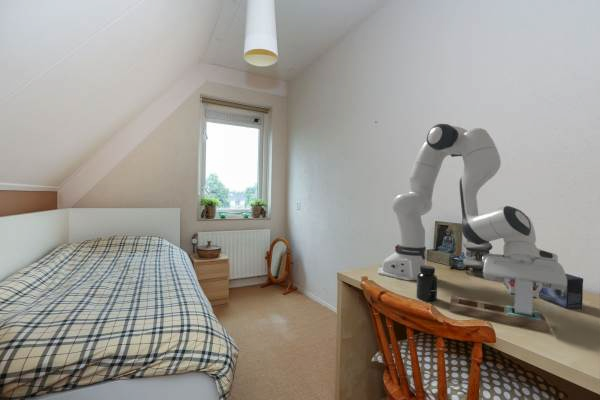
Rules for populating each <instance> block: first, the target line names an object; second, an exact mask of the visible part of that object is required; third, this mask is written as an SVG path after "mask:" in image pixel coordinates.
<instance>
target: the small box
mask: <svg viewBox="0 0 600 400" xmlns="http://www.w3.org/2000/svg"><path fill="white" fill-rule="evenodd" d="M565 275H566V278H567V286H566V288H565V289H563V290H557V289H550V288H543V287H542V290H541V291H540V292H539V293H538V295H539V297H538V299H541V300H543V301H546V302H547V303H548V302H549V303H551V304H554V305H556V306H558V307H561V308H563V309H566V310H578V309H581V310H582V309H583V295H584V294H583V293H584V290H583V289H584V278H582V277H580V276H575V275H572V274H569V273H565Z"/></svg>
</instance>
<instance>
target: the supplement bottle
mask: <svg viewBox="0 0 600 400" xmlns="http://www.w3.org/2000/svg"><path fill="white" fill-rule="evenodd" d="M420 272H421V273H419V274H418V275H417V280H416V299H418V300H419V301H423V302H429V303H434V302H436V301H438V300H437V299H438V277H437V275H436V274H435V273H436V268H435V267H434V266H431V265H426V266H420Z"/></svg>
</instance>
